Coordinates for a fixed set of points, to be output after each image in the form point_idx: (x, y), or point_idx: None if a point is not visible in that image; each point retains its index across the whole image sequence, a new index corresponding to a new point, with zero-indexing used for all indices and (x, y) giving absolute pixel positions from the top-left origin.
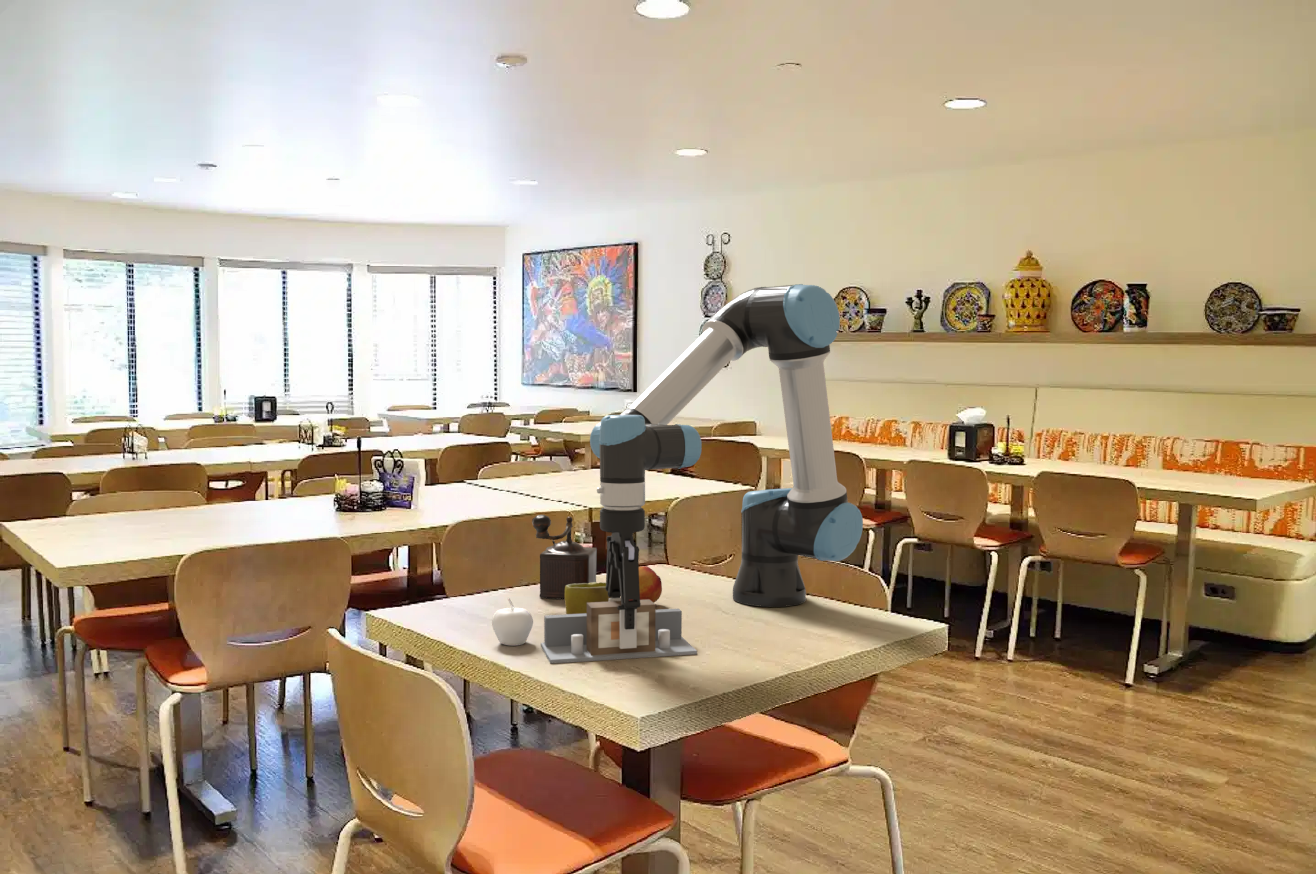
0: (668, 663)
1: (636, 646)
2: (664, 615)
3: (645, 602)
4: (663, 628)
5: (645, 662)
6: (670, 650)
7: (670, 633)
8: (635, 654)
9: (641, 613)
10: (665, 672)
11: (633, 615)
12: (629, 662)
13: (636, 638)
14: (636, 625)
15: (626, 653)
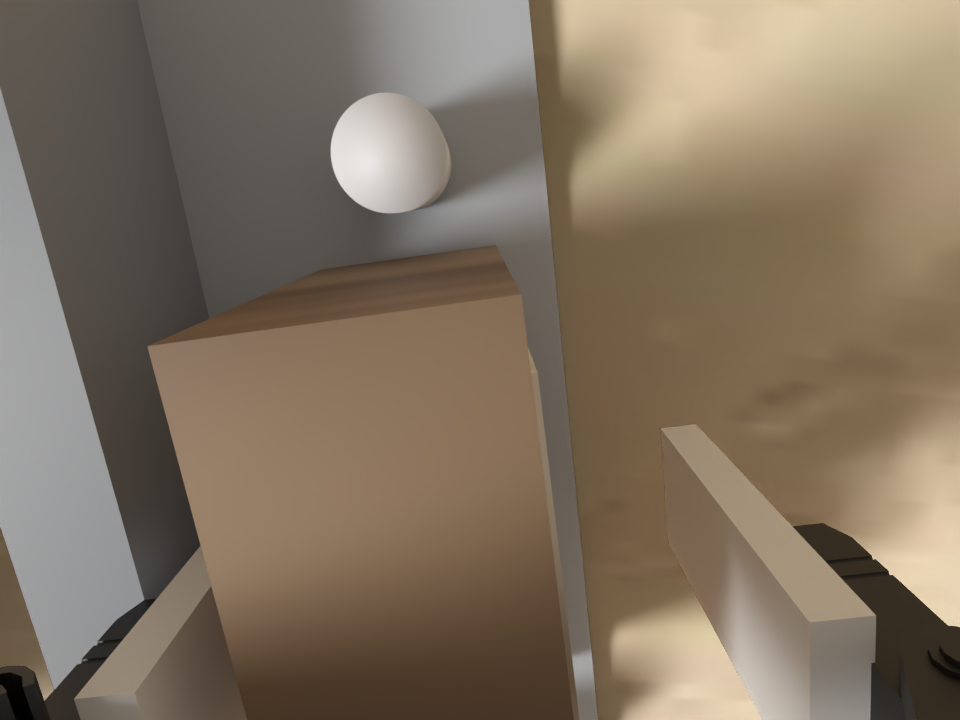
0: (724, 175)
1: (697, 428)
2: (32, 95)
3: (367, 431)
4: (114, 124)
5: (671, 332)
6: (489, 121)
7: (123, 60)
8: (565, 395)
9: (543, 459)
10: (934, 227)
11: (932, 620)
12: (653, 434)
13: (721, 452)
14: (769, 505)
15: None
